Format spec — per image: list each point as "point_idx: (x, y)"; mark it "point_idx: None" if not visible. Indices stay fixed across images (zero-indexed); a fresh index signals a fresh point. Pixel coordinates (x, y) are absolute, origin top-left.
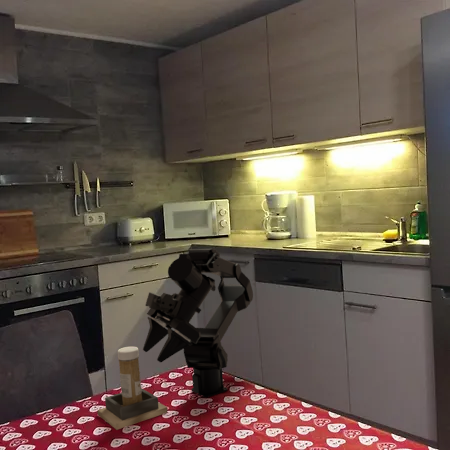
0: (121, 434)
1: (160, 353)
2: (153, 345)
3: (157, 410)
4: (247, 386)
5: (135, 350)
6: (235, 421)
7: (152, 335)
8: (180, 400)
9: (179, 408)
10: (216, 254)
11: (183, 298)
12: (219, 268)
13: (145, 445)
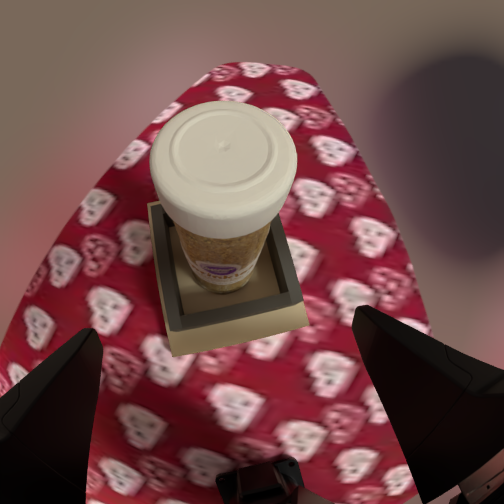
0: (122, 215)
1: (64, 349)
2: (374, 379)
3: (165, 324)
4: None
5: (157, 184)
6: None
7: (421, 385)
8: (243, 415)
9: (185, 395)
10: None
11: None
12: None
13: (49, 249)
